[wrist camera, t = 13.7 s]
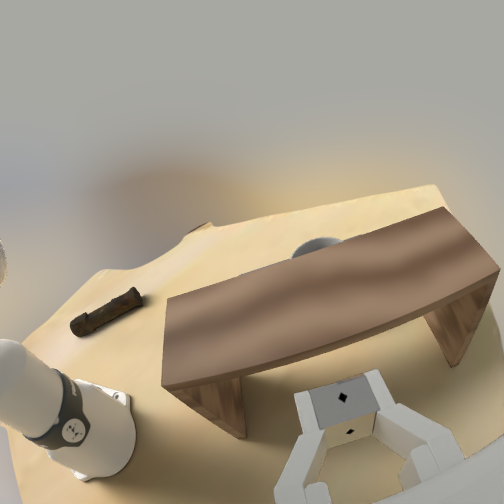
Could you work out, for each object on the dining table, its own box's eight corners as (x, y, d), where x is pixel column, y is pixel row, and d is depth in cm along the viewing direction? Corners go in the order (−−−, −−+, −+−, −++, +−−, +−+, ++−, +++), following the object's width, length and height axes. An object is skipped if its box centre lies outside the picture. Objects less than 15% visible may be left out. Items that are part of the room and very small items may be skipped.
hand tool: (143, 295, 62) (131, 280, 60) (144, 307, 59) (132, 292, 56) (79, 329, 61) (66, 317, 58) (78, 341, 58) (64, 329, 55)
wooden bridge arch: (458, 364, 31) (500, 268, 19) (238, 439, 34) (161, 386, 23) (428, 309, 39) (443, 206, 27) (231, 376, 42) (167, 298, 30)
